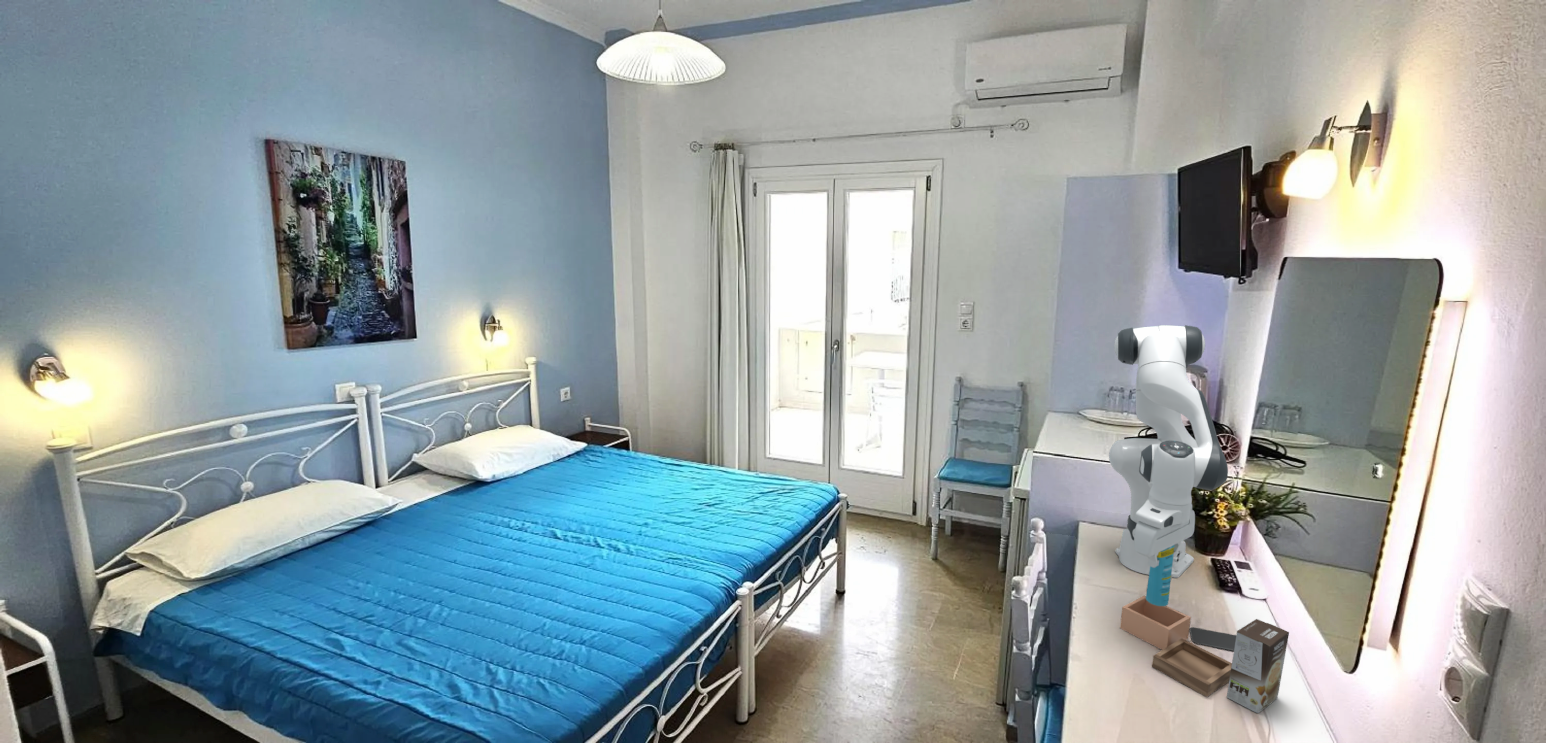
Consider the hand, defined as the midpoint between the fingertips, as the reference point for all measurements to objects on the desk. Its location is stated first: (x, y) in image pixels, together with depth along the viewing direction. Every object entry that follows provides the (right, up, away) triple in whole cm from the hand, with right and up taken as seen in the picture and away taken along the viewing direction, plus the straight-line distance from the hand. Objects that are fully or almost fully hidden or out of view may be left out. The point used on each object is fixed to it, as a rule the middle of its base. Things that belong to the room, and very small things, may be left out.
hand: (1162, 561), depth 164 cm
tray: (+1, -22, -10) cm, 25 cm away
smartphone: (+16, -20, 0) cm, 26 cm away
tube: (0, -11, +2) cm, 11 cm away
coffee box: (+9, -24, -19) cm, 32 cm away
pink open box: (0, -19, +4) cm, 20 cm away
